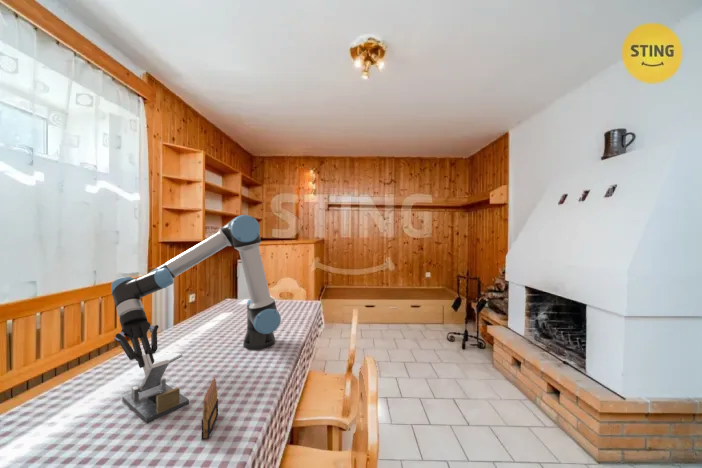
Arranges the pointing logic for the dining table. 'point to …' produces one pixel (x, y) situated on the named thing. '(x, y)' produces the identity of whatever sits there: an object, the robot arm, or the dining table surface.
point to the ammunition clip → (209, 410)
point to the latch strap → (153, 376)
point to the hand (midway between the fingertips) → (150, 374)
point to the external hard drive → (167, 357)
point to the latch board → (147, 408)
